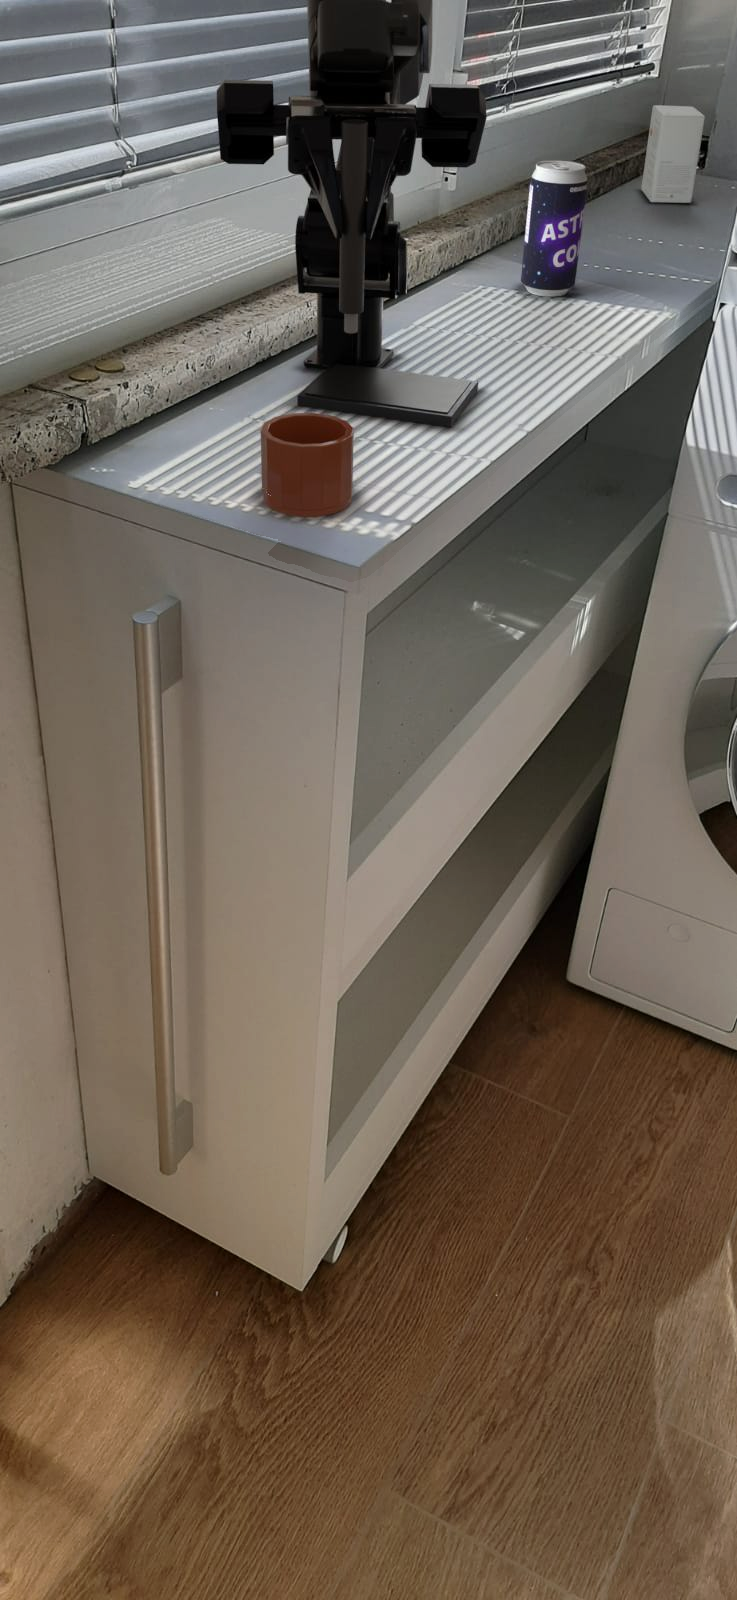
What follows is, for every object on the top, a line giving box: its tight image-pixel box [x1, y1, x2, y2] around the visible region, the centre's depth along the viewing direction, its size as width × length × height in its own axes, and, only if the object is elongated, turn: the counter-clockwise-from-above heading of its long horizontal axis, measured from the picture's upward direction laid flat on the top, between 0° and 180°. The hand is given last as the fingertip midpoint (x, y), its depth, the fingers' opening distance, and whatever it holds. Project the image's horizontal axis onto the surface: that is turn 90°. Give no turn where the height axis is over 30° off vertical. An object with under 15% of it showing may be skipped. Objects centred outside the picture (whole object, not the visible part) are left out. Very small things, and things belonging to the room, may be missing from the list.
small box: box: [640, 104, 706, 204], centre depth 168 cm, size 8×6×10 cm
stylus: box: [339, 119, 368, 333], centre depth 90 cm, size 2×2×14 cm
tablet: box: [296, 364, 479, 428], centre depth 104 cm, size 9×13×1 cm
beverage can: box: [520, 160, 589, 298], centre depth 129 cm, size 6×6×12 cm
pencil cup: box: [260, 412, 355, 518], centre depth 87 cm, size 6×6×5 cm
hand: (353, 235), depth 88 cm, fingers closed on stylus, 2 cm apart
